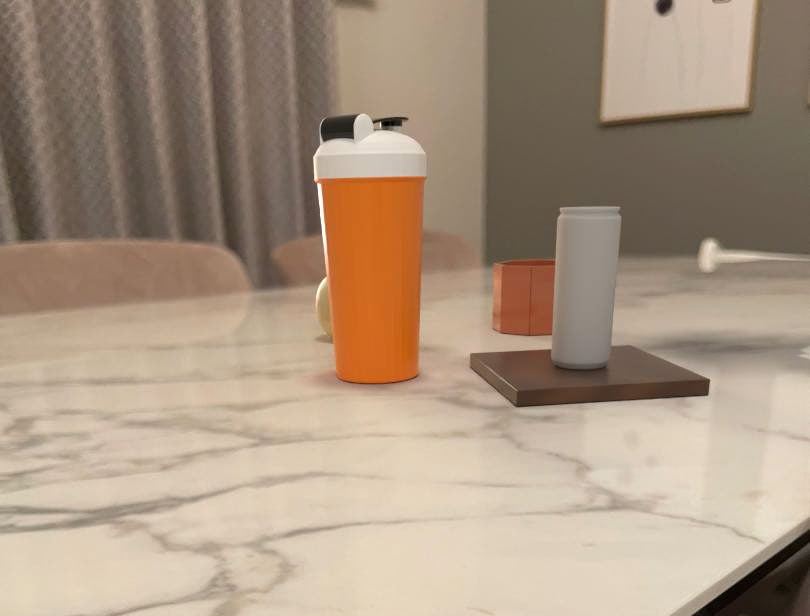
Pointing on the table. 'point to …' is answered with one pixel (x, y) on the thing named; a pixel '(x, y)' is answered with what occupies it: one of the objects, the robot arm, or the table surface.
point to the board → (585, 377)
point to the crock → (524, 296)
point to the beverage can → (585, 286)
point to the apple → (324, 307)
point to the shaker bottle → (372, 244)
